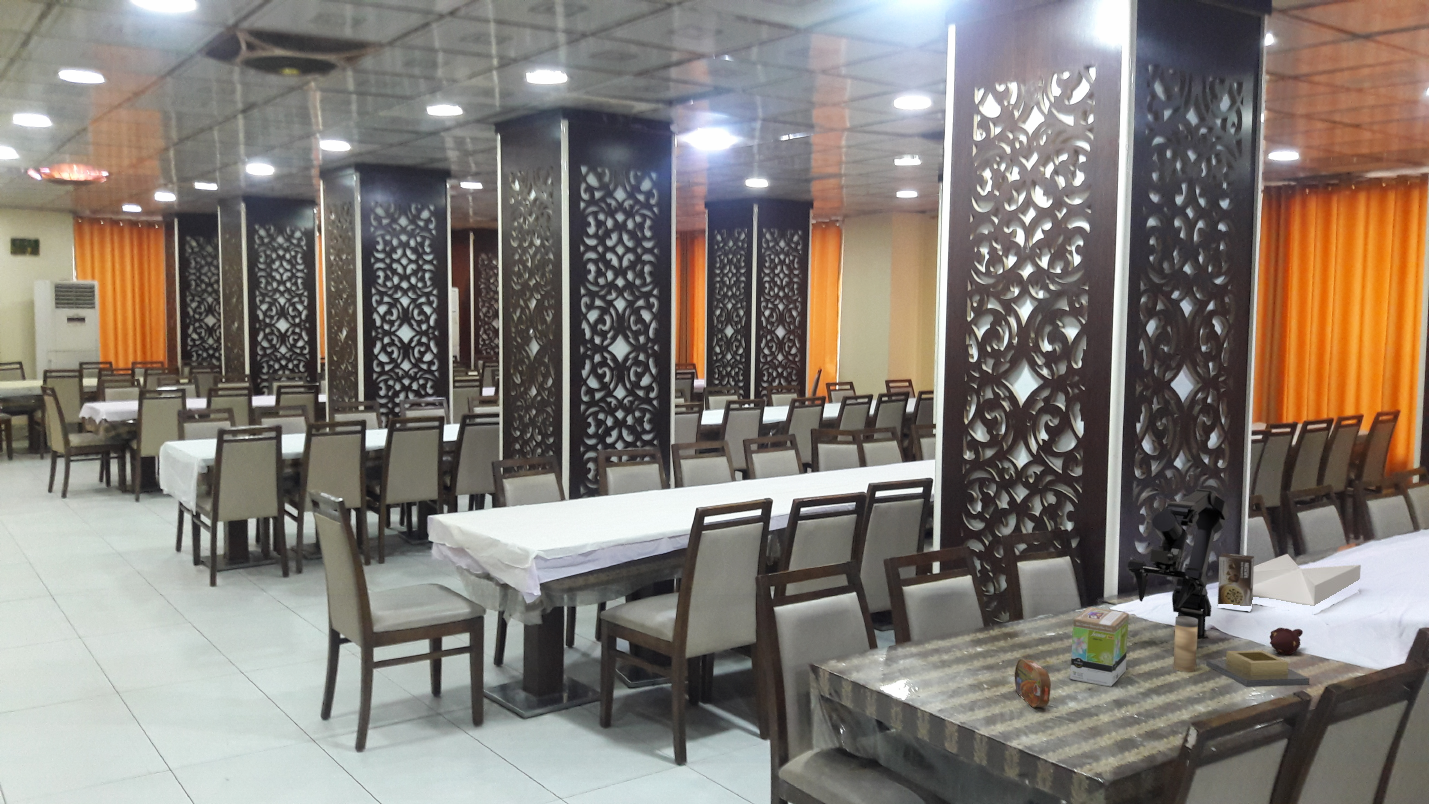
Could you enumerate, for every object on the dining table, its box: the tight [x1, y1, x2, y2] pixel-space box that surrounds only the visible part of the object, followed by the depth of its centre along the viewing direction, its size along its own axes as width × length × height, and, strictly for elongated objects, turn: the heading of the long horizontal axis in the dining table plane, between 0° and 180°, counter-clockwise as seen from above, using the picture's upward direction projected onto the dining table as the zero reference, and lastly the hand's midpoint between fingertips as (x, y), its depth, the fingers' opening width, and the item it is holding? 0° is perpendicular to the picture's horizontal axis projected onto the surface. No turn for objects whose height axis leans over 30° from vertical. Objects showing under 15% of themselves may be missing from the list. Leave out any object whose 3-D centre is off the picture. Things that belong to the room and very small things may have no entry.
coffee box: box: [1217, 552, 1255, 606], centre depth 327 cm, size 9×6×16 cm
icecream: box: [1269, 627, 1304, 656], centre depth 281 cm, size 7×7×15 cm
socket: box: [1205, 649, 1310, 687], centre depth 262 cm, size 16×16×4 cm
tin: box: [1014, 658, 1052, 708], centre depth 240 cm, size 15×3×8 cm, turn 5°
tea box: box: [1069, 606, 1130, 687], centre depth 259 cm, size 15×10×15 cm
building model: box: [1253, 553, 1362, 606], centre depth 344 cm, size 45×22×10 cm, turn 134°
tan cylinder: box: [1173, 615, 1198, 673], centre depth 266 cm, size 5×5×12 cm
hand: (1158, 604), depth 276 cm, fingers open, 9 cm apart
